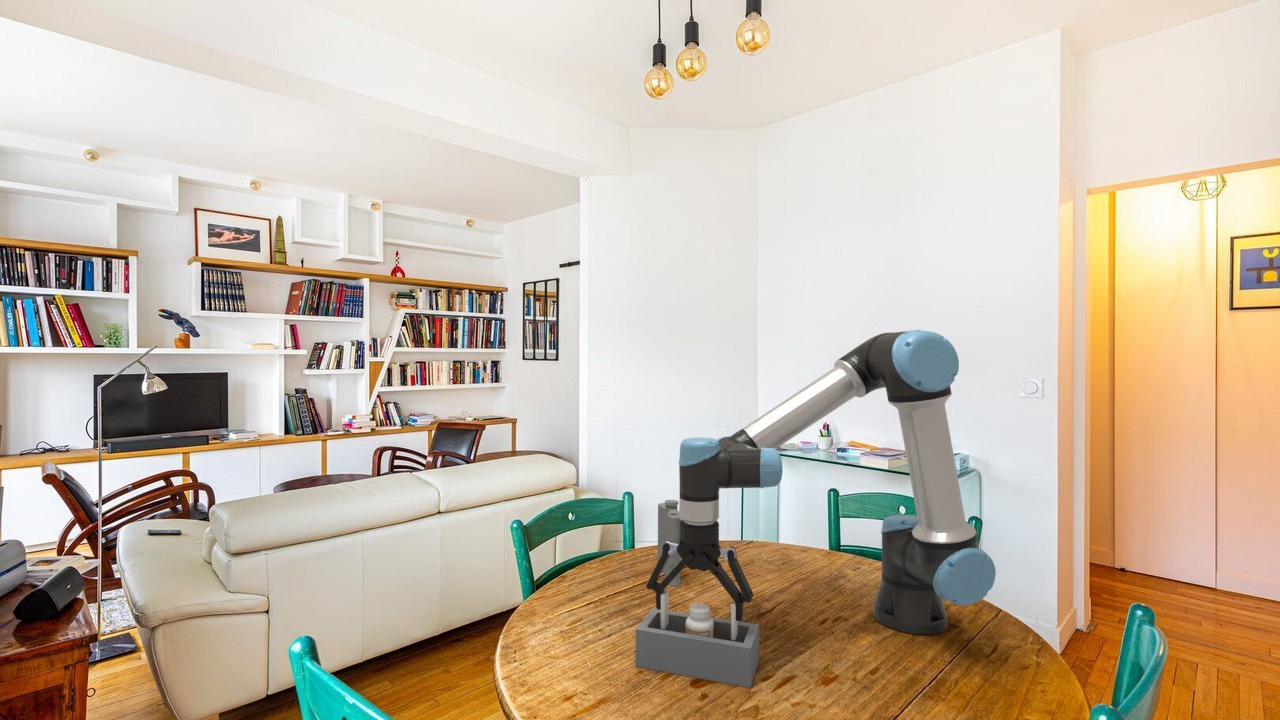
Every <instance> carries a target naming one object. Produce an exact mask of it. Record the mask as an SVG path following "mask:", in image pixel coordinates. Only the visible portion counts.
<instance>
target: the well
mask: <svg viewBox="0 0 1280 720" xmlns="http://www.w3.org/2000/svg"><path fill="white" fill-rule="evenodd" d="M689 616H690V615H689V613H687V612H686V613H684V612H681V611H680V612H679V611H672V610H668V625H667V626H666V628H665V629H661V610H659V609H657V608H653V607H652V608H651V609H650V610H649V612H648V613H647V615H646V616H645V617H644V618H643V620H642V621H641V622H640V623H639V625H638V626H637V627H636V628H635V659H634V660H635V661H634V662H635V668H640V669H647V670H652V671H656V672H662V673H666V674H667V673H668V674H673V675H679V676H683V677H689V678H695V679H699V680H700V679H701V680H704V681H705V680H707V681H710V682H716V683H722V684H725V685H726V684H728V685H733V686H736V687H737V686H738V687H743V688H748V689H752V685H753V681H754V678H755V677H756V673H757V668H758V664H759V662H760V624H758V623H752V622H745V621H738V635H737V637H736V640H731V619H725V618H720V617H711V616H710V618H711V619H712V620H713V622H714V638H710V637H704V636H697V635H691V634H685V623H686V619H687V618H688V617H689Z"/></svg>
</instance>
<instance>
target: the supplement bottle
mask: <svg viewBox="0 0 1280 720" xmlns="http://www.w3.org/2000/svg"><path fill="white" fill-rule="evenodd" d="M688 609H689V611H688V614H689V615H690V616H689V617H688V618H687V619H686V623H685V634H691V635H697V636H704V637H710V638H714V622H713V620H712V619H711V618H710V617H711V606H709V605H708V604H704V603H694V604H691V605H689V608H688Z"/></svg>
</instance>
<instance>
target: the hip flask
mask: <svg viewBox="0 0 1280 720" xmlns="http://www.w3.org/2000/svg"><path fill="white" fill-rule="evenodd" d="M678 506H679V500H676V499H667V500H664V502H662V503H661V502H660V503H658V504H657V562H658V561H659V559H660V558H661V556H662V550H663V545H664V544H665V543H666V542H667V541H668V540H670V541H672V543H675V544H679V522H680V521H681V520H682V519H681V518H680V517H679V509H678ZM681 560H682V558H681V557H680V555H679V554H678V552H677V551H674V553H673V554H672V555H670V557H669V559H668V561H667V563H666V565H665V567H664V569H663V570H662V572H661V573H663V575H664V576H665V578H666V577H667V575H668V574H669V573H670V572H671V571H672V570H673V569H674V568H675V567H676V566H677V564H678V563H679V562H680V561H681ZM680 585H681V571H680V572H679V573H678V575H677V576H676V577H675V578H674V579H673V580H672V581H671V582H670V583H669V584H668V585H667V586H669V587H675V588H676V587H679V586H680Z"/></svg>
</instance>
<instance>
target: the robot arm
mask: <svg viewBox="0 0 1280 720" xmlns="http://www.w3.org/2000/svg"><path fill="white" fill-rule="evenodd" d="M833 365H834V367H833V368H832V369H830V370H828V371H827V372H826V373H824V374H823V375H821V376H819V377H818V378H817V379H815V380H814V381H812V382H811V383H809V384H807V385H806V386H804V387H802V389H800V390H799V391H797V392H796V393H794V394H792V395H791V396H789V397H788V398H787V399H785V400H783V401H782V402H780V403H779V404H777V405H776V406H774V407H772V408H771V409H770V410H769V411H767V412H765V413H764V414H762V415H760V416H759V417H758V418H756V419H755V420H753V421H751V422H750V423H749V424H746V425H745V426H744V427H743V428H742V429H740V430H737V431H736V432H735V433H733V434H731V435H730V436H722V437H719V438H718V439H715V438H712V437H701V436H698V437H688V438H687V437H686V438H684V439H683V440H682V441H681V443H680V446H679V447H680V448H679V459H678V460H679V461H678V465H679V468H678V471H679V474H678V475H679V498H678V499H679V500H678V506H679V509H678V511H679V517H680V518H681V521H680V522H679V544H675V543H672V541H670V540H668V541H667V542H666V543H665V544H664V545H663V550H662V556H661V558H660V559H659V561H658V560H657V563H656V565H655V567H654V570H653V571H652V573H651V576H650V578H649V579H648V581H647V583H646V589H647V590H652V591H654V593H655V607H656V608H655V609H659V610H661V629H665V628H666V626H667V625H668V611H669V590H668V589H666V588H667V586H669V585H668V584H669V583H670V582H671V581H672V580H673V579H674V578H675V577H676V576H677V575H678V573H679V572H680V573H681V572H682V570H684V568H685V567H687V568H688V569H689V570H693V571H696V570H699V571H701V572H707V571H710V572H711V574H712V575H713V576H714V577H716V579H717V580H718V581H719V583H720V584H721V586H722V587H723V589H724V590H725V592H727V594H728V595H729V596H730V597H731V599H732V601H731V604H730V620H731V640H736V637H737V635H738V621H740V622H742V620H743V617H744V603H751V602H752V600H753V598H754V592H753V590H752V587H751V586H750V584H749V582H748V579H747V578H746V575H745V573H744V572H743V569H742V567H741V565H740V563H739V561H738V557H737V549H736V547H734V546H731V547H729V548H721V546H720V523H719V521H718V520H719V519H720V489H759V488H760V489H764V488H765V489H766V488H773V487H777V486H778V485H779V484H780V483H781V481H782V477H783V461H782V457H781V455H780V452H779V451H778V450H777V448H779V447H781V446H782V445H784V444H785V443H787V442H789V441H790V440H792V439H793V438H795V437H796V436H798V435H799V434H801V433H802V432H803V431H805V430H806V429H808V428H809V427H812V426H813V425H814V424H815V423H817V422H818V421H820V420H821V419H823V418H824V417H826V416H828V415H829V414H830V413H832V412H833V411H835V410H837V409H838V408H840V407H842V406H843V405H844V404H846V403H847V402H849V401H850V400H852V399H854V398H855V397H856V398H863V397H865V396H866V395H868V394H869V393H872V392H873V391H876V390H880V389H883V388H885V389H886V390H885V391H886V395H887V402H888V403H889V404H890V405H892V406H893V407H895V409H896V410H897V411H898V419H899V423H900V428H901V433H902V434H901V435H902V438H903V439H902V441H903V444H904V446H903V447H904V450H905V451H904V452H905V457H906V462H907V466H908V467H907V468H908V472H909V478H910V485H911V489H912V495H913V499H914V501H913V502H914V507H915V511H916V515H914V514H913V515H910V514H909V515H908V514H907V515H906V514H897V515H889V516H887V517H884V519H883V520H882V525H881V581H880V585H879V587H878V590H877V592H876V596H875V598H874V601H873V603H872V605H873V607H872V608H873V609H872V613H873V617H874V619H875V620H876V621H877V622H878V623H880V624H882V625H884V626H885V627H888V628H890V629H893V630H896V631H899V632H904V633H908V634H915V635H925V636H926V635H937V634H940V633H941V634H942V633H943V632H945V631H946V630H947V629H948V615H947V612H946V611H947V610H946V608H945V605H944V602H943V600H945V601H948V602H950V603H952V604H954V605H958V606H969V605H973V604H976V603H978V602H980V601H982V600H983V599H984V598H986V596H987V595H988V592H989V591H991V590H992V588H993V587H994V583H995V581H996V576H997V575H996V574H997V572H996V571H997V570H996V566H995V563H994V561H993V559H992V558H991V556H990V555H988V553H987V552H986V551H984V550H983V549H980V547H979V542H978V535H977V531H976V528H975V527H974V526H973V525H972V524H971V523H969V522H967V521H966V516H965V512H964V507H963V506H964V505H963V500H962V495H961V488H960V484H959V477H958V471H957V467H956V466H957V465H956V460H955V454H954V450H953V444H952V437H951V432H950V426H949V421H948V415H947V410H946V402H947V401H948V400H949V398H951V396H952V389H951V385H952V384H953V383H954V381H955V380H956V379H955V378H956V376H957V375H958V374H959V369H960V367H959V366H960V360H959V356H958V354H957V351H956V349H955V347H954V345H953V343H952V342H951V341H950V340H949V339H948V338H946V337H944V336H943V335H941V334H940V333H937V332H934V331H930V330H919V329H915V330H914V329H913V330H906V331H903V330H902V331H898V332H897V331H896V332H895V331H894V332H883V333H879V334H877V335H875V336H872V337H871V338H869V339H867V340H865V341H863V342H862V343H861V344H858V346H856V347H855V348H853V349H852V350H850V351H848V352H847V353H846V354H844V355H843V356H841V357H840V358H838V359H836V360H835V362H834V364H833ZM674 551H677V552H678V554H679V555H680V557H681V559H680V562H679V563H678V564H677V566H676V567H675V568H674V569H673V570H672V571H671V572H670V573H669V574H668V575H667V577H666V576H665V577H664V579H663V580H662V581H661V582H658V580H659V578H660V576H661V574H662V573H663V572H662V570H663V569H664V567H665V565H666V563H667V561H668V559H669V557H670V555H672V554H673V553H674ZM720 557H723V558H724V560H725V561H726V562H727V563H728V567H729V568H730V571H731V572H732V575H733V577H734V580H735V582H736V583H737V584H735V582H734V581H733V580H732V578H731V577H730V576H729V574H728V573H727V571H725V569H724V568H723V565H722V564H721V562H720V561H719V558H720ZM737 585H738V586H737Z"/></svg>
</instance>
